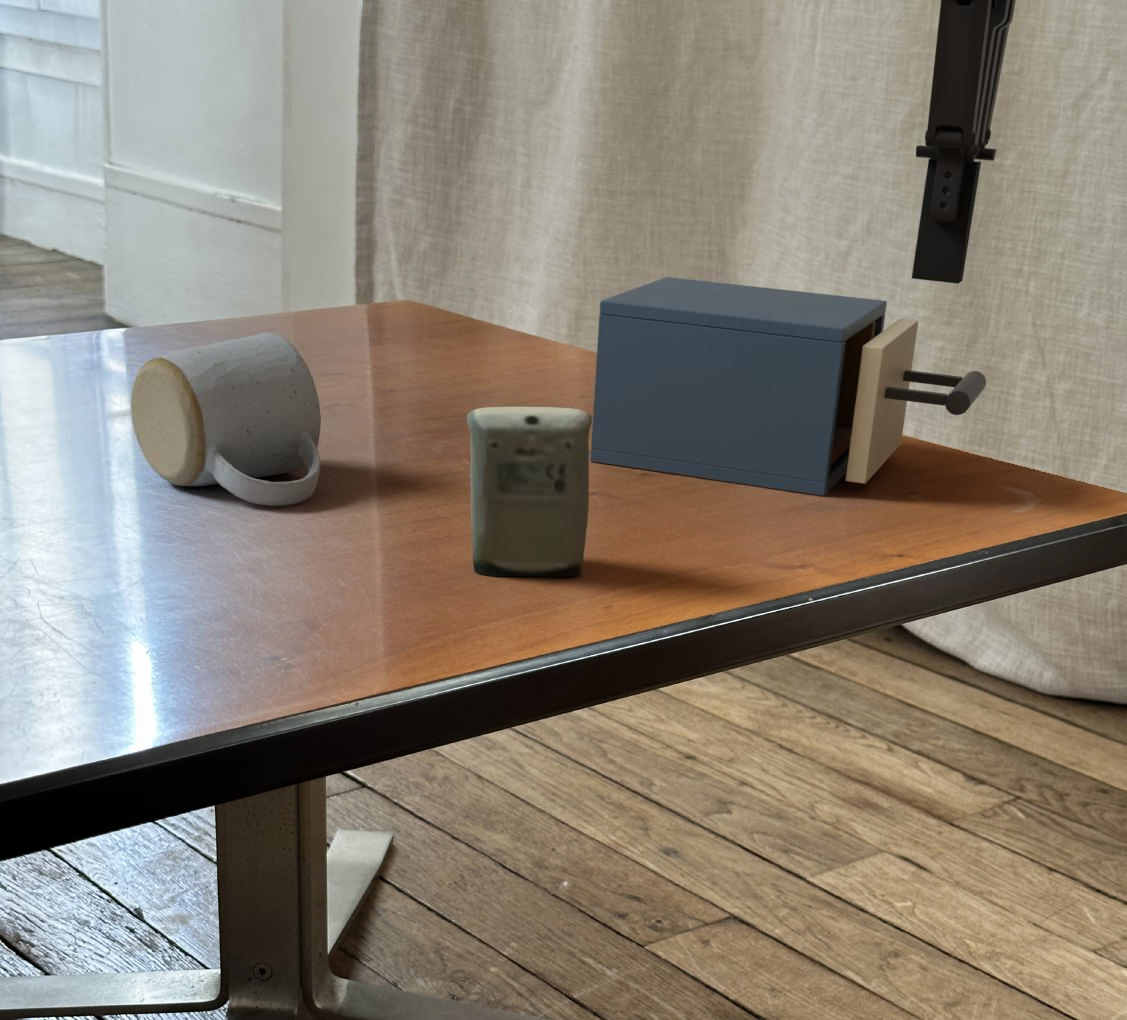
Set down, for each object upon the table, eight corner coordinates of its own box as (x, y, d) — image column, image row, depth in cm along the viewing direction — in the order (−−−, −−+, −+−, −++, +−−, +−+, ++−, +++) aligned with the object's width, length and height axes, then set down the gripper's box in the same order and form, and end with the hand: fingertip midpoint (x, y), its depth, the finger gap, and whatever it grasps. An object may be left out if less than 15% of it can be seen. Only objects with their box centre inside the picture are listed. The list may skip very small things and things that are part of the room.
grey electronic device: (502, 595, 74) (509, 423, 70) (442, 563, 77) (446, 399, 74) (600, 577, 77) (611, 412, 74) (538, 548, 81) (546, 389, 77)
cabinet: (867, 452, 104) (887, 300, 100) (824, 496, 93) (844, 328, 89) (654, 422, 108) (665, 276, 104) (589, 461, 98) (599, 300, 94)
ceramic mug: (124, 473, 89) (117, 333, 86) (248, 454, 94) (245, 321, 91) (232, 521, 82) (229, 372, 79) (359, 497, 88) (360, 356, 84)
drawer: (978, 455, 101) (998, 329, 98) (950, 496, 91) (972, 358, 88) (699, 417, 106) (710, 297, 103) (645, 452, 97) (655, 320, 93)
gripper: (954, -176, 89) (893, 261, 99) (913, -211, 78) (849, 285, 88) (1092, -173, 87) (1016, 274, 97) (1071, -208, 76) (987, 300, 86)
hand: (937, 279), depth 92 cm, fingers closed
